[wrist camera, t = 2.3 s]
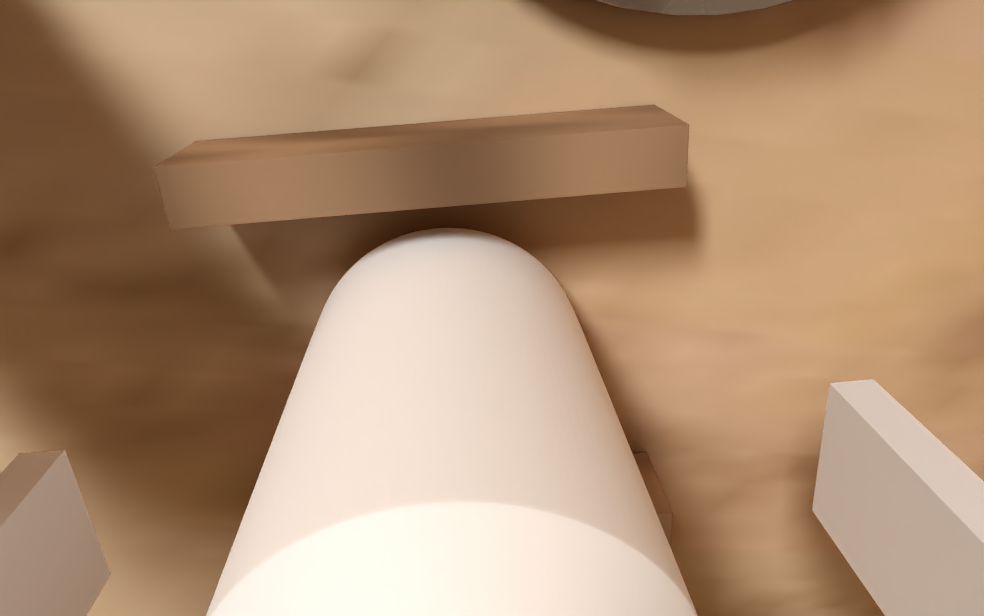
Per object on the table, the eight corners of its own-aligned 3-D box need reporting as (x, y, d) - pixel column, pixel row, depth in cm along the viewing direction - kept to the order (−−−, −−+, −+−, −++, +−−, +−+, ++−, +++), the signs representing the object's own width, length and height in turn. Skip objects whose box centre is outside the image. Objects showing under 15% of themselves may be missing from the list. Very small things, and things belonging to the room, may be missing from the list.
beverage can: (542, 455, 20) (667, 1049, 9) (310, 424, 19) (121, 1039, 8) (601, 239, 17) (878, 683, 6) (336, 192, 16) (119, 612, 5)
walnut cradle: (284, 521, 20) (264, 590, 18) (196, 141, 16) (153, 167, 13) (645, 487, 20) (671, 551, 18) (654, 104, 16) (688, 124, 14)
